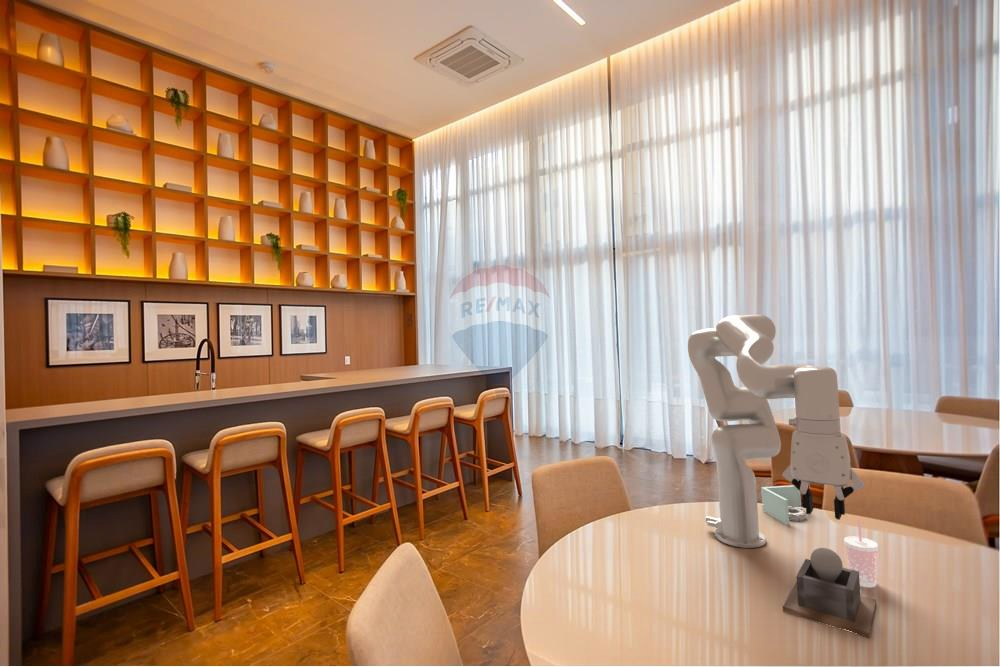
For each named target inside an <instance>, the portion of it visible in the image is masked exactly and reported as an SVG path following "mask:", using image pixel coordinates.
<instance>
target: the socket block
mask: <svg viewBox="0 0 1000 667" xmlns="http://www.w3.org/2000/svg"><path fill="white" fill-rule="evenodd" d="M795 578H796V580H795V583H794V584H793V586H792V587H791V590H790V591H789V594H788V596H787V598H786V600H785V602H784V603H783V605H782V611H783V612H784V613H788V614H790V615H795V616H797V617H800V618H803V619H806V620H809V619H810V621H813V622H817V623H819V622H820V623H819V624H822V623H823V624H822V625H825V624H828V625H827V626H829V625H831V626H830V627H832V626H834V627H833V628H835V627H836V629H838V628H841V629H840V630H842V629H846V630H849V631H852V632H854V633H857V634H856V635H858V634H859V635H858V636H861V637H864V636H865V638H867V637H868V638H867V639H870V637H871V632H872V628H871V627H872V626H873V623H874V617H875V613H876V608H877V599H875V598H872V597H868V596H864V595H861V586H860V580H859V571H855V570H851V569H849V568H847V567H846V568H845V567H843V568H842V572H841V573H840V575H839V576H838V577H837V579H836V580H835V582H834V583H832V582H828V581H824V580H820V577H819V576H818V574H817V573H816V571H815V570H814V568H813V567H812V564H811V559H807V558H805V559H804V561H803V562H802V565H801V567H800V569H799V570H798V571H797V574H796V576H795ZM854 633H853V634H854Z"/></svg>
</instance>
